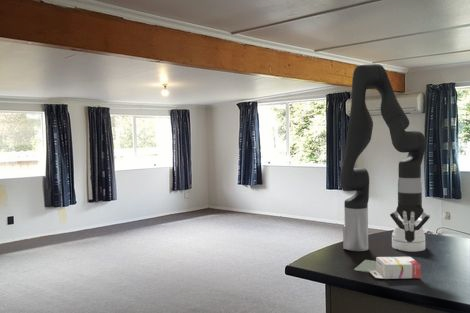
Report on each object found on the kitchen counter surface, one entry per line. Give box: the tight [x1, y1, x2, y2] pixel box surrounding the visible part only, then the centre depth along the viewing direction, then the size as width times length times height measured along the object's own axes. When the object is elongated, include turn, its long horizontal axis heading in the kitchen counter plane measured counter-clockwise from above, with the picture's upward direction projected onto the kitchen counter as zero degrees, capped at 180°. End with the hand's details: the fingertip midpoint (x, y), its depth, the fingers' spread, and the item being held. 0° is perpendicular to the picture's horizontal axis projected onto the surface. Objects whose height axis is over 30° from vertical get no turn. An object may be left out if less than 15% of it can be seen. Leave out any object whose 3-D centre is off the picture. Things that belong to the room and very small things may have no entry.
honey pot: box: [391, 215, 426, 252], centre depth 182 cm, size 13×13×18 cm
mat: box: [354, 259, 376, 273], centre depth 155 cm, size 16×13×1 cm
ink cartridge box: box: [368, 256, 422, 280], centre depth 146 cm, size 9×5×15 cm
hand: (409, 241), depth 149 cm, fingers closed
